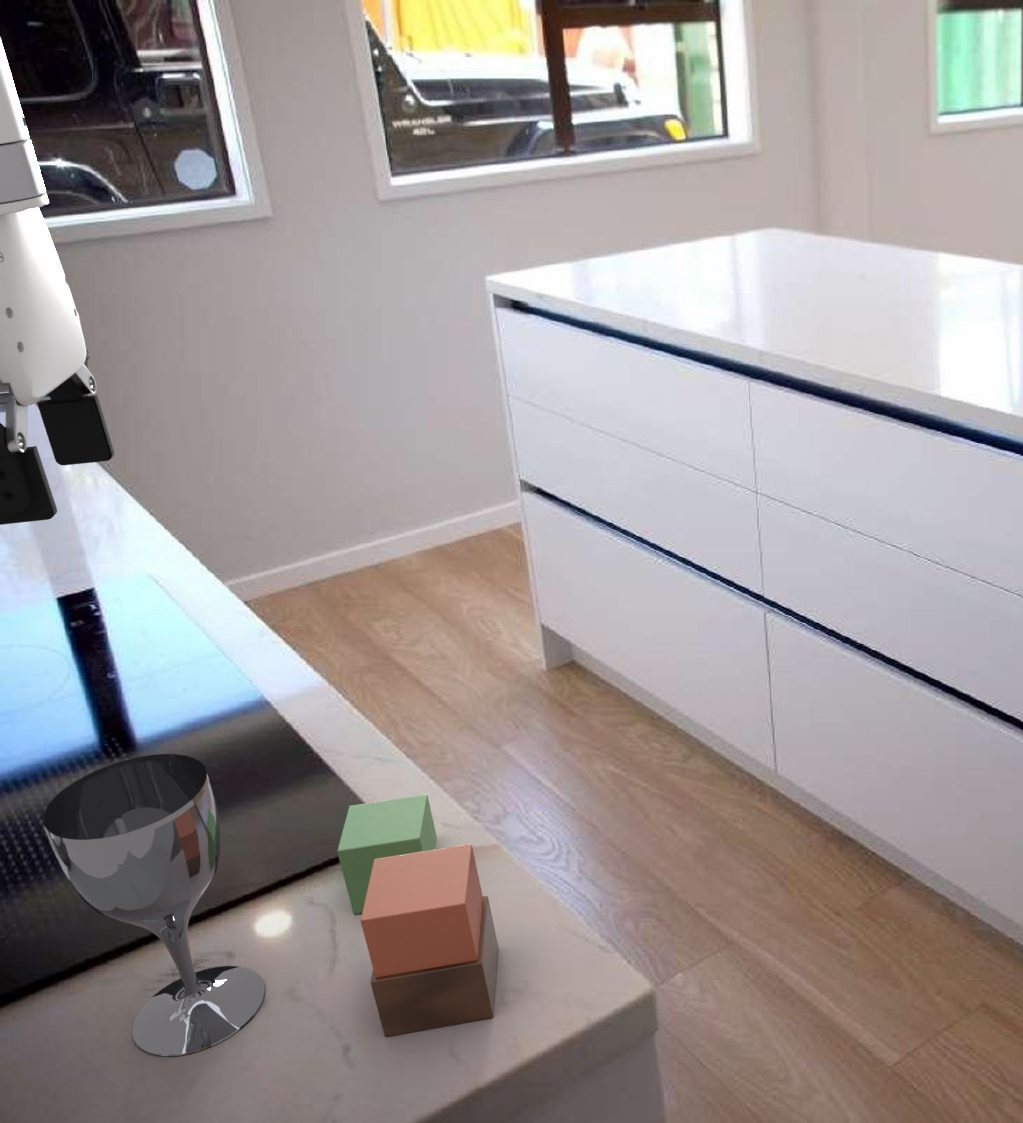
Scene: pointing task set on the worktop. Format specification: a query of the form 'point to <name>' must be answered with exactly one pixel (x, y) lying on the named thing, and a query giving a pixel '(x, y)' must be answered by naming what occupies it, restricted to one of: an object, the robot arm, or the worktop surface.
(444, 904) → the terracotta block
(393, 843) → the green block
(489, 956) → the walnut block
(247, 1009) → the wine glass
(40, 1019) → the worktop surface
